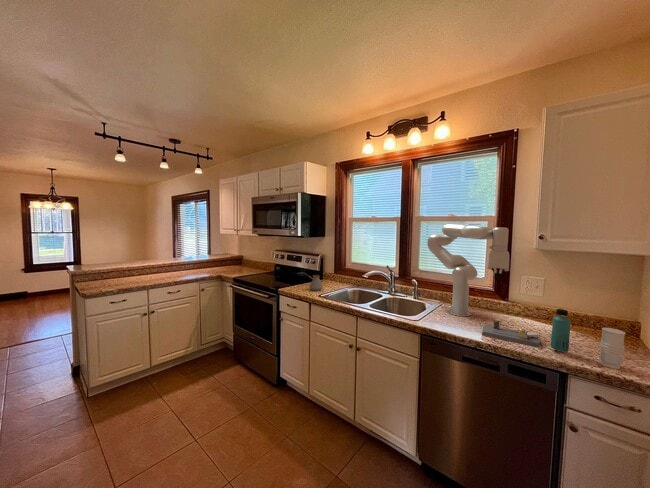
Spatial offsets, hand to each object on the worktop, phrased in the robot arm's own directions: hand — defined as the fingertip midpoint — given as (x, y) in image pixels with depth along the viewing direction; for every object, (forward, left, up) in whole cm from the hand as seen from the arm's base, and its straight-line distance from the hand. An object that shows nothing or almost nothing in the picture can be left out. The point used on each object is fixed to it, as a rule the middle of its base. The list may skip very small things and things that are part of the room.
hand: (497, 279), depth 155 cm
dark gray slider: (+1, -12, -25) cm, 28 cm away
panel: (+7, -16, -27) cm, 32 cm away
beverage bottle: (+26, -23, -27) cm, 44 cm away
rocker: (+17, -16, -23) cm, 33 cm away
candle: (+42, -26, -27) cm, 56 cm away
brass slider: (+12, -19, -25) cm, 34 cm away
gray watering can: (-138, +2, -27) cm, 141 cm away
